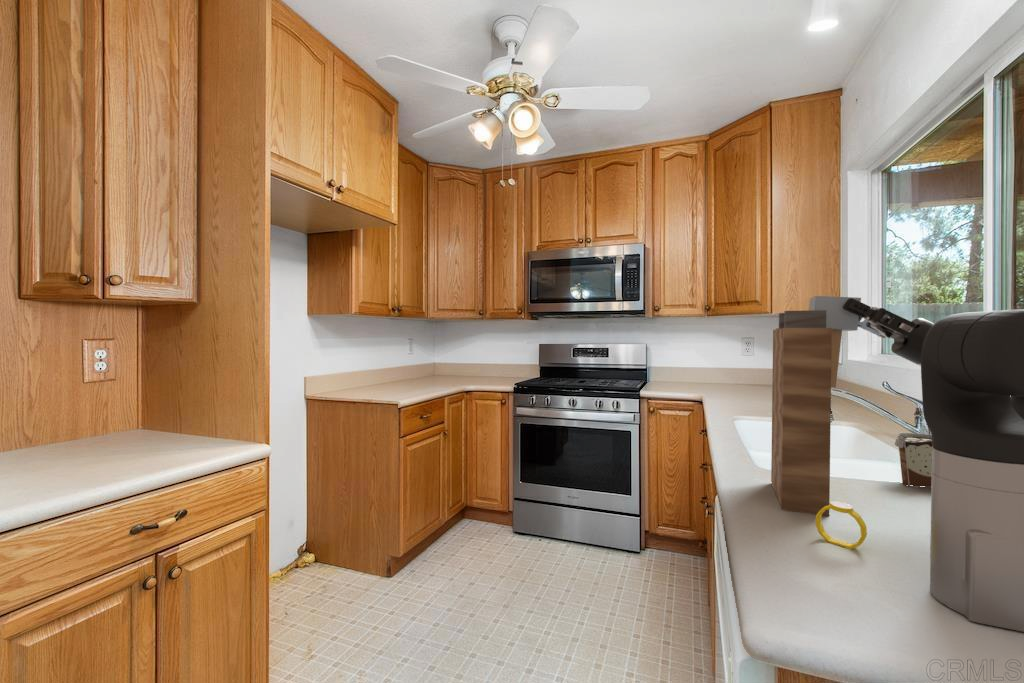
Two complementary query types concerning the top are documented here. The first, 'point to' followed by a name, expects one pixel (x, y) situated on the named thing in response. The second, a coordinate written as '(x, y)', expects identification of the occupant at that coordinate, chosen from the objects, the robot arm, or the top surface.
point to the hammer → (835, 324)
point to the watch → (844, 509)
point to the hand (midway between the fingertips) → (839, 304)
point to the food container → (915, 458)
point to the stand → (801, 411)
